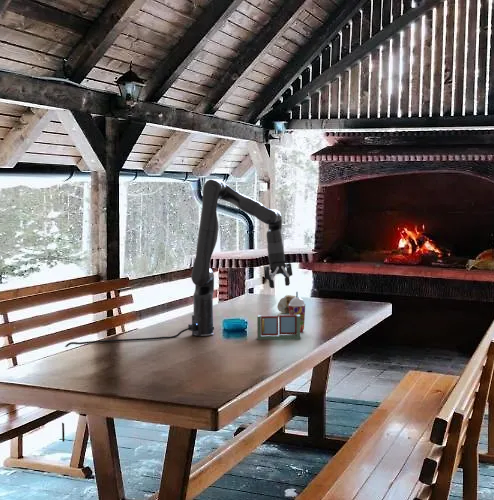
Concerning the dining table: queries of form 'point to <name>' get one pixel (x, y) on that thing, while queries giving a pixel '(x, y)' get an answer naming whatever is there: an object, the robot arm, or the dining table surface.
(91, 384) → the dining table surface
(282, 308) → the stone
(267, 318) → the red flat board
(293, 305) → the smoothie
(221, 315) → the dining table surface
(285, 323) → the green double frame
